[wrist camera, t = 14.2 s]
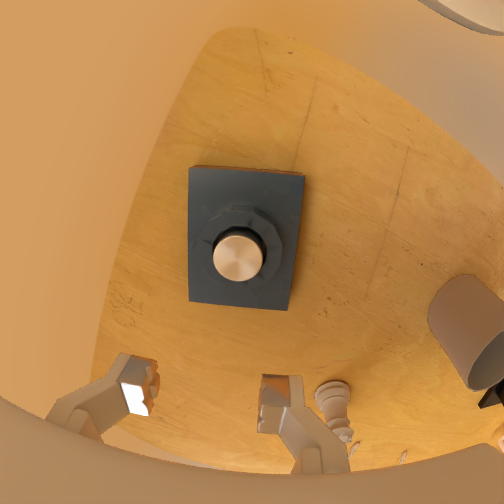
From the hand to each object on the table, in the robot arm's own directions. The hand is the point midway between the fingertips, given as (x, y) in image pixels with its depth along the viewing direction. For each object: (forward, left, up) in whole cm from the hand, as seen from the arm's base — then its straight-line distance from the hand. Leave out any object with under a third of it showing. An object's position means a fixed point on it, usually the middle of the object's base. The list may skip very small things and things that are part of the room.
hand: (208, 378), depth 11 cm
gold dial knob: (0, 0, -13) cm, 13 cm away
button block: (0, 0, -17) cm, 17 cm away
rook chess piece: (+19, +12, -17) cm, 28 cm away
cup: (+6, +25, -17) cm, 31 cm away
